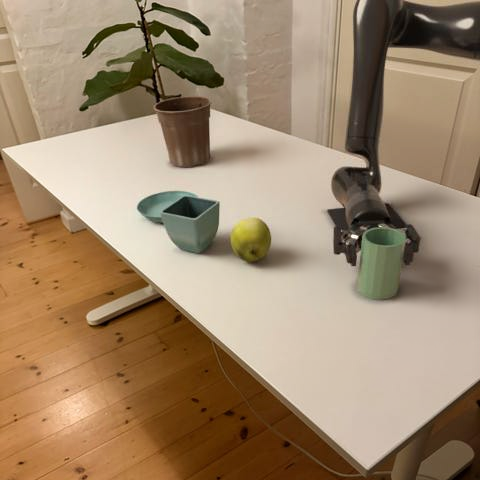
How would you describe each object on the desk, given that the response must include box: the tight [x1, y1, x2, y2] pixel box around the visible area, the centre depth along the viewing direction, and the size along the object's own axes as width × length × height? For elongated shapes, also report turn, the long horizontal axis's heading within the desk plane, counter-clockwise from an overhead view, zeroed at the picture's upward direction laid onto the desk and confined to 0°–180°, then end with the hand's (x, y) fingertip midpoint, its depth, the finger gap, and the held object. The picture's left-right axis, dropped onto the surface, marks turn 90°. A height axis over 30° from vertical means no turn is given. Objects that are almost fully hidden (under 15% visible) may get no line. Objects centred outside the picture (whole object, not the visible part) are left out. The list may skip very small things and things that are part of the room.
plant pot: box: [153, 95, 212, 168], centre depth 134 cm, size 16×16×16 cm
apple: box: [230, 217, 272, 263], centre depth 88 cm, size 8×9×8 cm
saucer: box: [136, 190, 199, 224], centre depth 109 cm, size 15×15×3 cm
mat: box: [326, 202, 407, 243], centre depth 98 cm, size 14×16×1 cm
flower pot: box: [160, 195, 221, 254], centre depth 93 cm, size 9×9×9 cm
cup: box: [356, 227, 406, 301], centre depth 76 cm, size 7×7×10 cm
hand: (381, 261), depth 75 cm, fingers open, 8 cm apart
